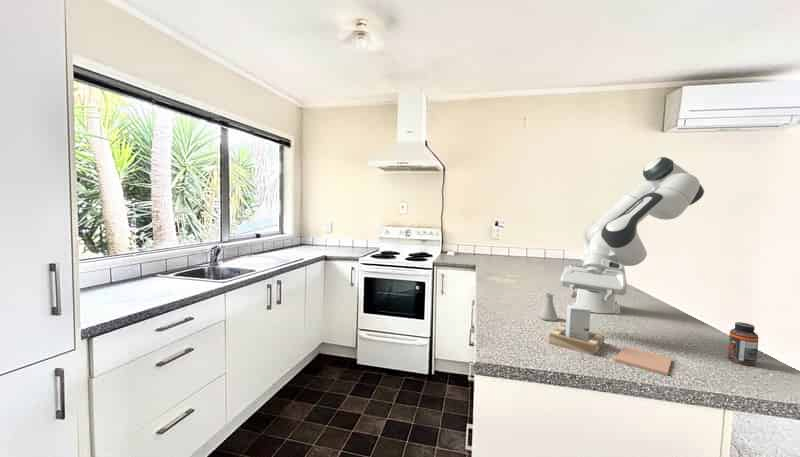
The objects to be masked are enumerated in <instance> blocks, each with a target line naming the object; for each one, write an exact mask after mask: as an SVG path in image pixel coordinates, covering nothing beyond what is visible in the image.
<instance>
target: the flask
mask: <svg viewBox="0 0 800 457" xmlns="http://www.w3.org/2000/svg"><path fill="white" fill-rule="evenodd" d="M544 295H545V300H544V304H543V307H542V309H541V311H540V312H539V316H538V319H541V320H543V321H548V322H555V321H557V322H558V321H559V319H558V315H557V312H556V308H555V305H554V295H555V294H553V293H545V294H544Z"/></svg>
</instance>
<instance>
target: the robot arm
mask: <svg viewBox="0 0 800 457" xmlns="http://www.w3.org/2000/svg"><path fill="white" fill-rule="evenodd" d="M642 176H643V177H644V181H643V182H641V183H640V184H638V185H636V186H634V187H633V188H632V189H631V190H629V191H628V192H627V193H626V194H625V195H624V196H622V197H621V198H620V199H619V200H618V201H616V203H614V204H613V205H612V206H611V207H610V208H609V209H608V210H607V211H606V212H605V213H604V214H603V215H602V216H601V217H600V218H599V219H598V220H597V221H594V222H590V223H589V224H587V225H586V227H585V228H584V230H583V263H582V265H577V264H575V265H574V264H569V265H565V267H564V268H563V272H562V275H561V276H560V283H561V285H562V287H565V288H569V289H570V290H569V291H570V297H571V299H572V298H573V299H576V301H574V302H572V305H576V306H585V307H587V308H589V309H590V313H597V314H617V315H620V314H621V306H620V304H619V303H618V301H616V295H617V296H624V295H627V288H628V286H627V285H628V284H627V277H626V270H625V266H626V267H632V266H633V267H634V266H637V265H639V264H641V263H643V261H644V260H645V259H646V257H647V254H648V253H647V250H646V247H645V246H644V243H643V241H642V239H641V237H640V236H639V234H638V225H639V224H640V223H641V222H642V221H643V220H644V219H646V217H647V216H651V217H653V218H655V219H659V220H665V221H667V220H674V219H676V218H678V217H680V216H681V215H682V214H683V213H684V212H685V211H686V210H687V208H688V207H689V206H691V205H693V204H695V203H697V202H698V201H700V199H702V197H703V196H704V193H705V190H704V187H703V186H702V184H701V183H700V180H699V178H698V177H697V176H694V175H693V174H690V173H689V172H688V171H686V170H685V169H683V167H681V166H680V165H678V164H677V163H675V162H674V160H672V159H670V158H668V157H666V156H663V157H658V158H656V159H653V160H652V161H650V162H649V163H648V164H647V165H646V166H645V167H644V169H643V171H642ZM576 289H577V291H575V290H576Z"/></svg>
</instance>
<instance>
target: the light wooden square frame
mask: <svg viewBox="0 0 800 457" xmlns="http://www.w3.org/2000/svg"><path fill="white" fill-rule="evenodd" d="M565 333H566V324H565V325H564V324H562V325H560V326H558V328H556V329H554V330H553V331H551V332H550V333H549V334H548V344H550V345H551V344H552V345H555V346H558V347H562V348H565V349H569V350H572V351H576V352H580V353H583V354H588V355H591V356H594V355H596V354H597V352H598V351H599V350H600V348H602V347H603V345H604V344H605V334H604V333H598V332H595V331H590V330H589V338H588V342H587V341H583V340H579V339H575V338H571V337H567V336H565Z"/></svg>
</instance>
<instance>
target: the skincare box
mask: <svg viewBox="0 0 800 457" xmlns="http://www.w3.org/2000/svg"><path fill="white" fill-rule="evenodd" d="M566 307H567V308H566V317H565V318H566V320H565V326H566V333H565V336H567V337H571V338H575V339H579V340H583V341H587V342H588V338H589V331H590V323H591V322H590V320H591V312H590V309H589V308H587V307H585V306H576V305H573V304H567V306H566Z"/></svg>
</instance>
